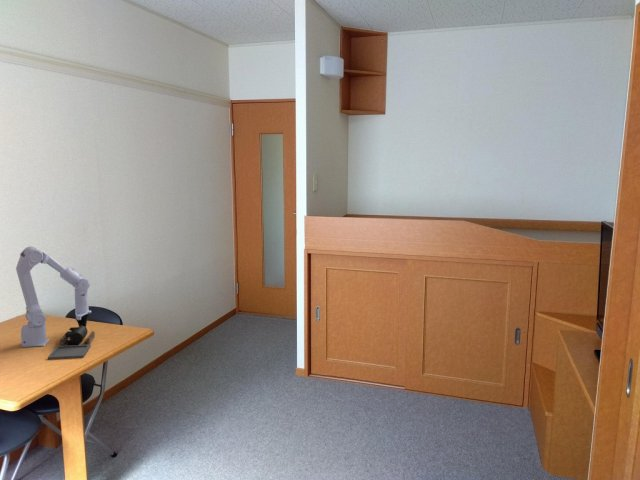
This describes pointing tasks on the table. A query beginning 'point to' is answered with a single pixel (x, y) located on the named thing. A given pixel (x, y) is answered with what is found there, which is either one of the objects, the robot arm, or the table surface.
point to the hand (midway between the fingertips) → (82, 329)
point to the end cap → (76, 335)
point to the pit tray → (69, 351)
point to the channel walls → (89, 339)
